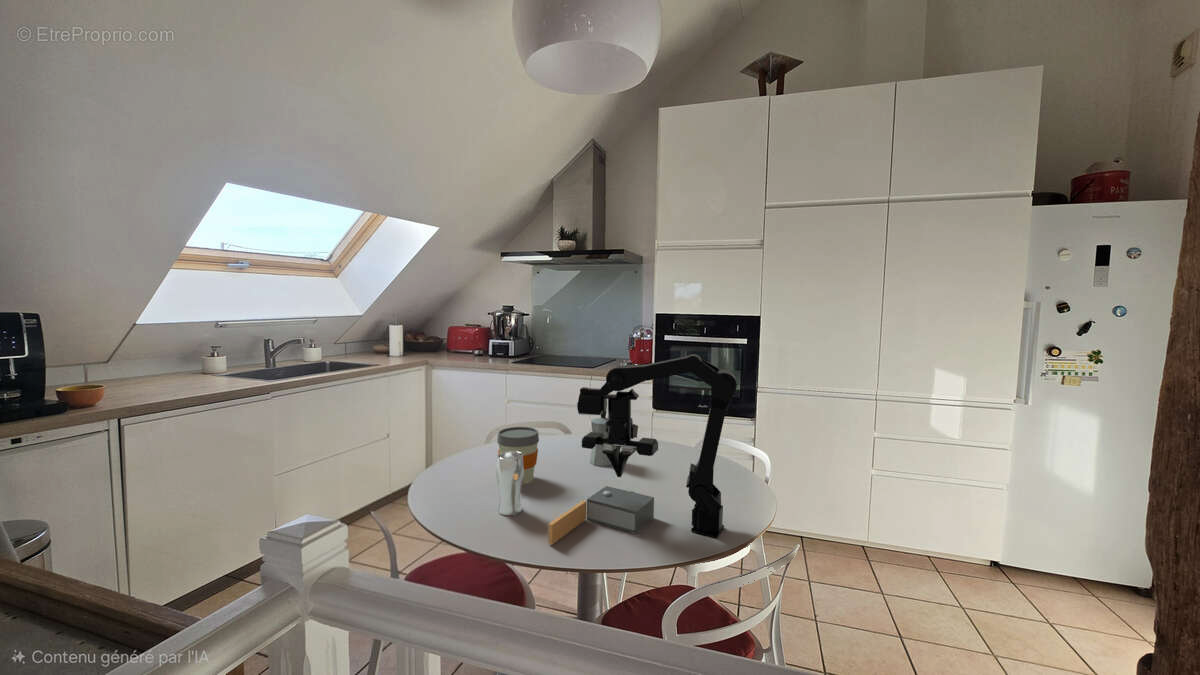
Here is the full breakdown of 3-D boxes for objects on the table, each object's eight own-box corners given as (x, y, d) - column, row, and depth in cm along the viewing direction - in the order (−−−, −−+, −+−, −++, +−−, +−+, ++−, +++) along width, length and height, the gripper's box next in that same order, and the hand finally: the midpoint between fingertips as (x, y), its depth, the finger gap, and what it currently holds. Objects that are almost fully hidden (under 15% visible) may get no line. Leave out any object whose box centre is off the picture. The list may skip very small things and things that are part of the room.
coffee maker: (583, 458, 171) (584, 407, 170) (606, 455, 175) (606, 405, 174) (601, 472, 158) (602, 417, 156) (625, 468, 162) (626, 415, 160)
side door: (552, 544, 111) (552, 524, 111) (546, 542, 112) (546, 523, 112) (586, 518, 124) (586, 501, 124) (580, 517, 125) (581, 499, 125)
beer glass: (511, 502, 134) (511, 449, 133) (528, 510, 130) (529, 454, 128) (491, 511, 129) (490, 455, 127) (508, 519, 124) (508, 461, 123)
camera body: (656, 514, 128) (657, 492, 127) (636, 534, 117) (636, 509, 117) (609, 502, 135) (609, 481, 134) (586, 520, 124) (586, 496, 124)
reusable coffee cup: (517, 491, 142) (517, 440, 141) (488, 480, 149) (488, 432, 148) (547, 478, 152) (547, 431, 151) (519, 469, 159) (519, 424, 158)
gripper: (664, 412, 127) (663, 471, 128) (597, 406, 134) (597, 462, 135) (651, 422, 117) (651, 486, 118) (580, 415, 124) (581, 475, 125)
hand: (619, 476), depth 124 cm, fingers closed
